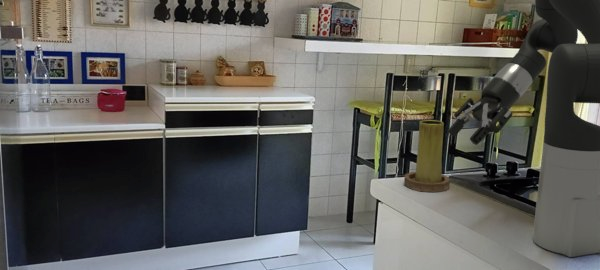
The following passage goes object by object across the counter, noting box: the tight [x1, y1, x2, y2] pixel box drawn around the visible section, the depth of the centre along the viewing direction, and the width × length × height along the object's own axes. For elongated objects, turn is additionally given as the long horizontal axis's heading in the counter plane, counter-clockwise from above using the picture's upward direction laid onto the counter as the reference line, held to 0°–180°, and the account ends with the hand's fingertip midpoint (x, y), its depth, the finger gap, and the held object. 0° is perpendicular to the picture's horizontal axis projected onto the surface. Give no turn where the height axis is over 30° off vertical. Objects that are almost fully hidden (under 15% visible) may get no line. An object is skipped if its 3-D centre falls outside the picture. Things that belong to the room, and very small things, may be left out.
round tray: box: [403, 171, 451, 193], centre depth 115 cm, size 10×10×2 cm
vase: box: [414, 119, 445, 183], centre depth 113 cm, size 6×6×14 cm
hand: (461, 138), depth 116 cm, fingers open, 8 cm apart
